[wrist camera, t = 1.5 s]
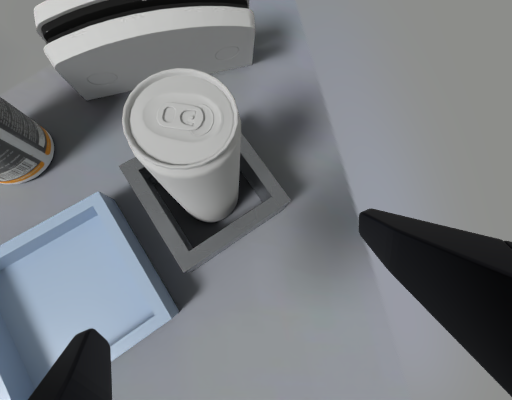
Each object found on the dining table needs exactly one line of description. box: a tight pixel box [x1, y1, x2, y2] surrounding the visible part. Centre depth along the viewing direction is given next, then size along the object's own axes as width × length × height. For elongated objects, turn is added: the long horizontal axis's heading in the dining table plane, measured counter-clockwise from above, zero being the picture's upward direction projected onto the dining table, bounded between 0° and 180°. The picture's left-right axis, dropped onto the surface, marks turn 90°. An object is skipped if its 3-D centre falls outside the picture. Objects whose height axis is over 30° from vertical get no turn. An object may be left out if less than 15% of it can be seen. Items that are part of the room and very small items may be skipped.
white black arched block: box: [34, 0, 255, 101], centre depth 20 cm, size 17×5×10 cm, turn 109°
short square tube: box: [119, 133, 291, 273], centre depth 20 cm, size 9×9×4 cm
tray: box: [0, 191, 180, 400], centre depth 17 cm, size 11×11×2 cm
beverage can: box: [122, 68, 241, 222], centre depth 16 cm, size 5×5×12 cm
